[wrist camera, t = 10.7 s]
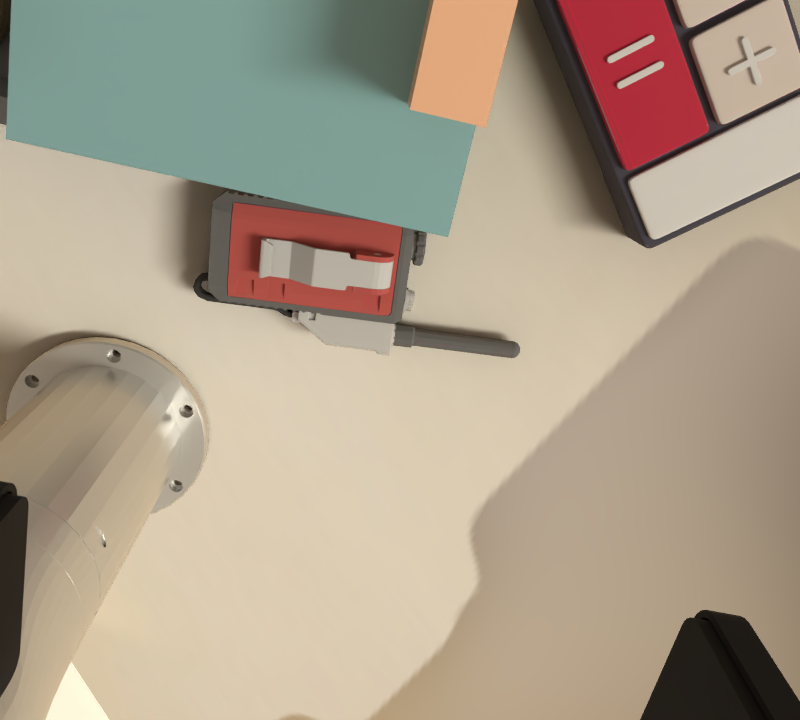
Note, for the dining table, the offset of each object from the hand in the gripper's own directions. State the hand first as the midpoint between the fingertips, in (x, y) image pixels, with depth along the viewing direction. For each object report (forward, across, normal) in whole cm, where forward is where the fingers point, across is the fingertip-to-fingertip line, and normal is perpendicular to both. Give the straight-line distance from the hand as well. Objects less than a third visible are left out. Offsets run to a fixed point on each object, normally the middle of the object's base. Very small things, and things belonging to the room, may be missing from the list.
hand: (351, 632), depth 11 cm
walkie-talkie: (+37, 0, +4) cm, 37 cm away
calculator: (+37, -14, -10) cm, 41 cm away
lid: (+28, +7, -9) cm, 30 cm away
